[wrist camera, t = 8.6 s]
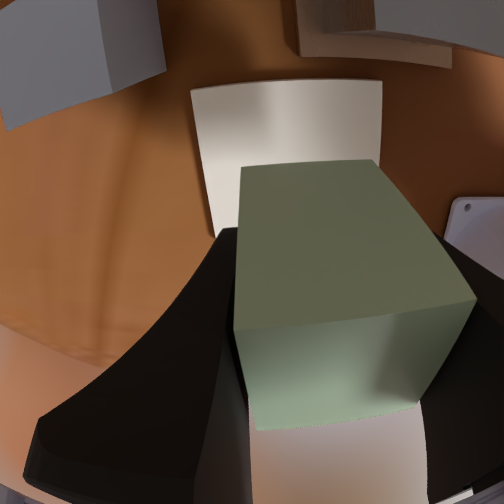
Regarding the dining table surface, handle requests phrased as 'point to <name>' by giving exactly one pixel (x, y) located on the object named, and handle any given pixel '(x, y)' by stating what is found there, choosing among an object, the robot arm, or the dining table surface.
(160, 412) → the robot arm
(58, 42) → the blue-grey part
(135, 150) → the dining table surface
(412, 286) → the sage part
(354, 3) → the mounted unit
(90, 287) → the dining table surface
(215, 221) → the plate
